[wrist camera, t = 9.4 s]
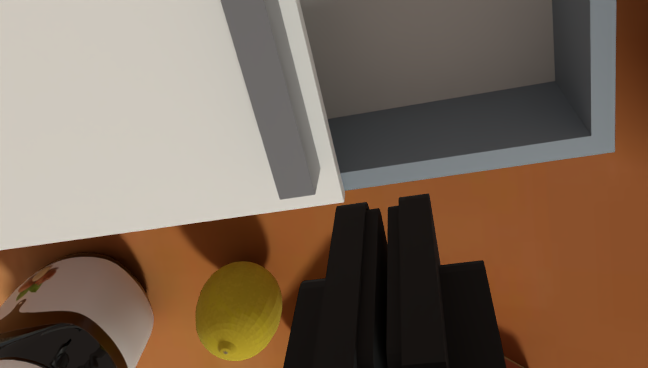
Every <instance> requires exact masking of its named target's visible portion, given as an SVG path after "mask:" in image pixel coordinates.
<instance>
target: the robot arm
mask: <svg viewBox="0 0 648 368" xmlns="http://www.w3.org/2000/svg"><path fill="white" fill-rule="evenodd" d="M283 368H506V363H505V358H504V354H503V349H502V344H501V340H500V335H499V330H498V326H497V321H496V316H495V312H494V307H493V302H492V298H491V293H490V288H489V284H488V279H487V274H486V270H485V265H484V262H483V260H482V261H473V262H464V263H456V264H447V265H440V259H439V252H438V246H437V240H436V233H435V227H434V221H433V214H432V208H431V202H430V196H429V194H422V195H415V196H407V197H400V198H399V206H393V207H388V245H387V240H386V236H385V231H384V226H383V221H382V216H381V212H380V209H379V208H378V209H370V210H369V206H368V204H367V202H364V203H356V204H349V205H342V206H337V207H336V212H335V219H334V226H333V232H332V239H331V246H330V253H329V259H328V266H327V273H326V278H324V279H316V280H307V281H303V282H302V283H301V285H300V288H299V293H298V298H297V303H296V307H295V312H294V317H293V322H292V327H291V332H290V337H289V342H288V347H287V352H286V357H285V361H284V366H283Z"/></svg>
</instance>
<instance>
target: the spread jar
mask: <svg viewBox="0 0 648 368" xmlns="http://www.w3.org/2000/svg"><path fill="white" fill-rule="evenodd" d="M153 322H154V316H153V312H152V308H151V304H150V301H149V299H148V297H147V295H146V293H145V291H144V289H143V287H142V285H141V284H140V282H139V281H138V280H137V278H136V277H135V276H134V275H133V274H132V273H131V272H130V271H129V270H128V269H127V268H126V267H125V266H123V265H122V264H121V263H119V262H118V261H116V260H115V259H113V258H111V257H108V256H105V255H101V254H96V253H77V254H72V255H68V256H65V257H63V258H60V259H58V260H56V261H54V262H52V263H50V264H49V265H47V266H45V267H44V268H42V269H41V270H39V271H38V272H36V273H35V274H33V275H32V276H30V277H29V278H28V279H27V280H26V281H25V282H23V283H22V284H21V285H20V286H19V287H18V288H17V289H16V290H15V291H14V292H13V293H12V294H11V295H10V296H9V297H8V299H7V300H6V301H5V302H4V303H3V305H2V306H1V307H0V368H135V367H136V365H137V363H138V361H139V359H140V357H141V354H142V352H143V350H144V348H145V346H146V344H147V342H148V339H149V337H150V335H151V332H152V328H153Z"/></svg>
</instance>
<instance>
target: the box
mask: <svg viewBox="0 0 648 368" xmlns="http://www.w3.org/2000/svg"><path fill="white" fill-rule="evenodd" d="M299 1H300V5H301V9H302V14H303V18H304V22H305V26H306V31H307V35H308V39H309V43H310V48H311V52H312V56H313V60H314V64H315V69H316V73H317V77H318V81H319V86H320V90H321V94H322V98H323V103H324V107H325V111H326V115H327V119H328V124H329V128H330V132H331V136H332V141H333V145H334V149H335V153H336V158H337V162H338V166H339V170H340V175H341V179H342V183H343V187H344V191H346V190H353V189H360V188H367V187H374V186H380V185H387V184H394V183H401V182H408V181H415V180H422V179H429V178H436V177H443V176H450V175H457V174H464V173H471V172H478V171H485V170H492V169H499V168H506V167H513V166H520V165H527V164H534V163H541V162H548V161H555V160H562V159H569V158H576V157H583V156H589V155H596V154H603V153H610V152H615V78H616V0H299Z"/></svg>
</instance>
